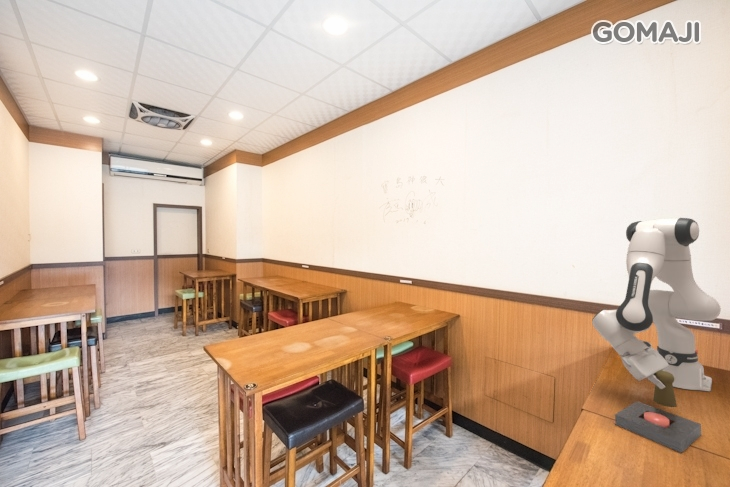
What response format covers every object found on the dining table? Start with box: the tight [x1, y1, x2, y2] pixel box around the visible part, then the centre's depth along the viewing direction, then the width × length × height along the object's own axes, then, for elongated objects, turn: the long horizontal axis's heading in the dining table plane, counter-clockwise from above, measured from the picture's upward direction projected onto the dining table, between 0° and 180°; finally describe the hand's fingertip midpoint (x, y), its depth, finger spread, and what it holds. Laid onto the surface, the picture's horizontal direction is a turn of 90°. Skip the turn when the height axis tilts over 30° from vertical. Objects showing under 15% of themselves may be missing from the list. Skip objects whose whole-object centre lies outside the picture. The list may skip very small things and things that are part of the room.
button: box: [644, 412, 670, 428], centre depth 98 cm, size 6×6×4 cm
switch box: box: [614, 400, 702, 454], centre depth 98 cm, size 16×16×4 cm
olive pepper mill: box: [652, 370, 678, 408], centre depth 106 cm, size 6×6×11 cm
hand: (667, 385), depth 106 cm, fingers closed on olive pepper mill, 4 cm apart
